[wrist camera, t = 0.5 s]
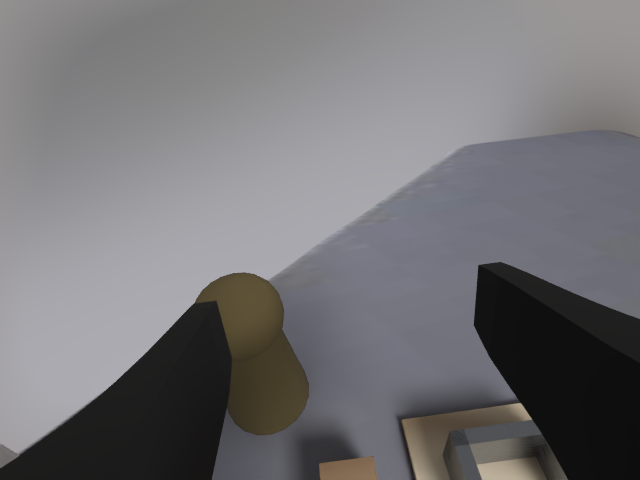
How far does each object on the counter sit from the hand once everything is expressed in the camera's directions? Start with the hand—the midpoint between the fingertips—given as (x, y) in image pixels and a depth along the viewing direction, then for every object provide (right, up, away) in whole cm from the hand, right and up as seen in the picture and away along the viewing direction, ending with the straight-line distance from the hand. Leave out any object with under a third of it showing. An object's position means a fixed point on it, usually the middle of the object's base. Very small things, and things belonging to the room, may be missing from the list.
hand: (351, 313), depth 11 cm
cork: (-5, -9, +18) cm, 21 cm away
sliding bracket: (+10, -12, +12) cm, 19 cm away
